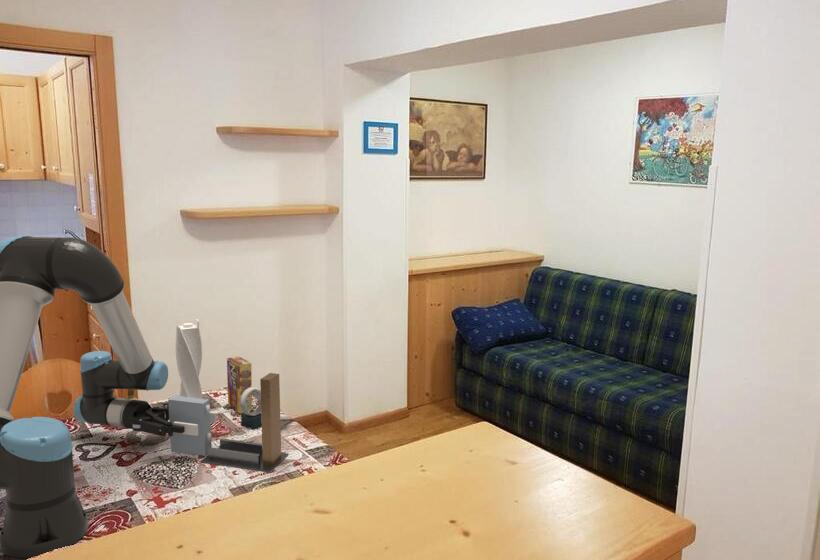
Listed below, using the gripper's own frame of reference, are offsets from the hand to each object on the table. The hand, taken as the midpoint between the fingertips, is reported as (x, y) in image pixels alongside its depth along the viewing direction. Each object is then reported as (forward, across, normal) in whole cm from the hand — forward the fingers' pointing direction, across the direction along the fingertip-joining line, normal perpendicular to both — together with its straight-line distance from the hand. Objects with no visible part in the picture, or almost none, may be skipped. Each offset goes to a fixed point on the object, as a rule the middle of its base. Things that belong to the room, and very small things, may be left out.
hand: (206, 423), depth 164 cm
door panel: (-5, 0, -8) cm, 9 cm away
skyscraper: (-22, -26, -8) cm, 35 cm away
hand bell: (-34, -14, -8) cm, 38 cm away
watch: (+2, -20, -8) cm, 22 cm away
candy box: (-8, -30, -8) cm, 32 cm away
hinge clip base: (+11, 0, -8) cm, 13 cm away
